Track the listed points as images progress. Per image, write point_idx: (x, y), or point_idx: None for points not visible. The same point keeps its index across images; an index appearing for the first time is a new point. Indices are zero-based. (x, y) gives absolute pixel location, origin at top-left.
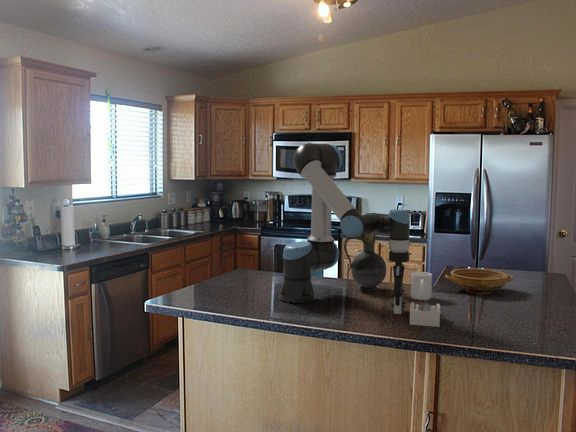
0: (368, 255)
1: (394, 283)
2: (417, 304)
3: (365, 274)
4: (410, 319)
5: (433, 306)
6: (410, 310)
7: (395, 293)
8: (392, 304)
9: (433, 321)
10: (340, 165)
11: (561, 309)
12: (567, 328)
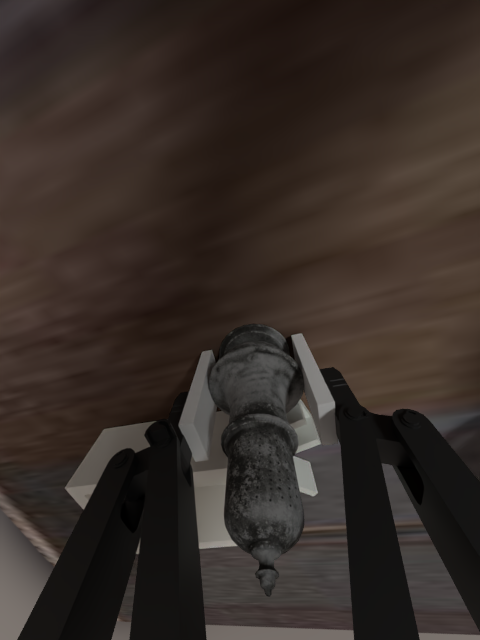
0: None
1: (33, 613)
2: (312, 444)
3: None
4: (93, 449)
5: (303, 492)
6: (68, 489)
7: (111, 480)
8: (214, 365)
9: None
10: None
11: (439, 626)
12: (286, 625)
